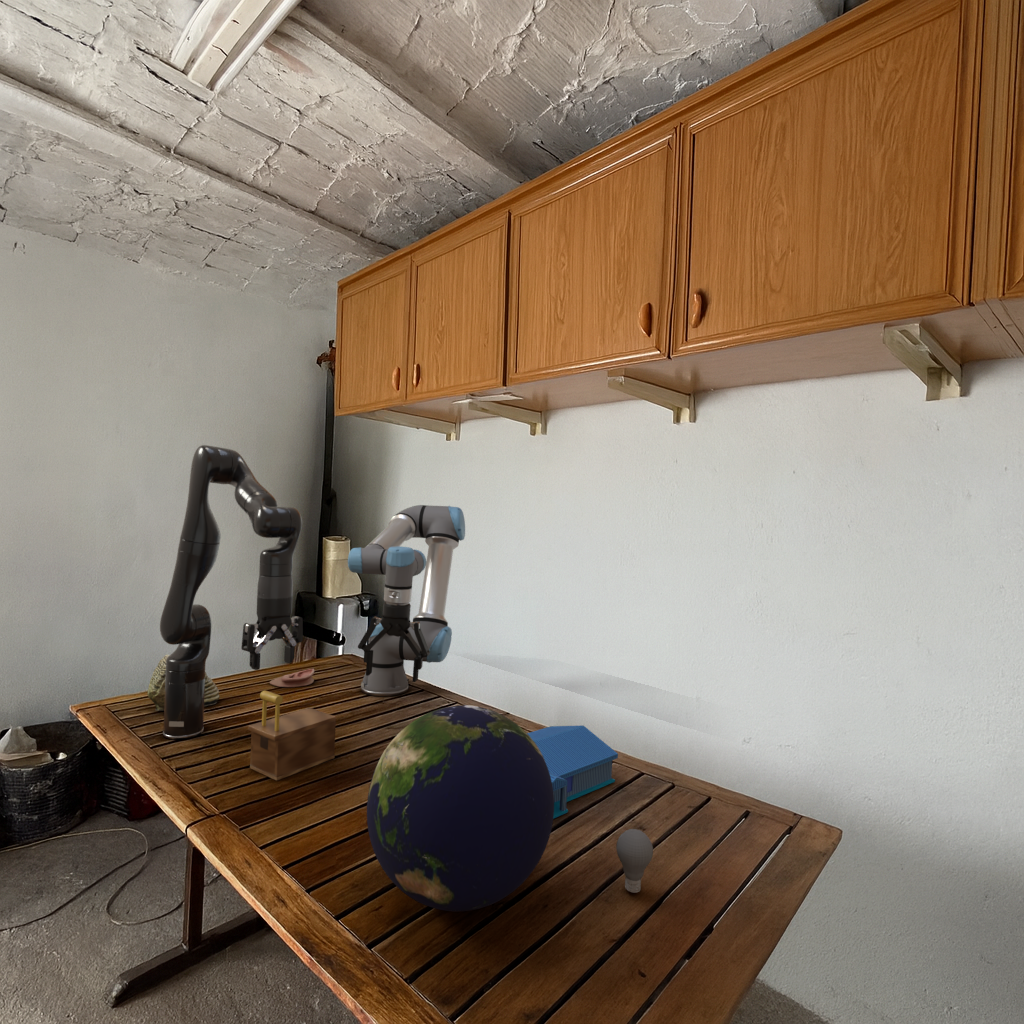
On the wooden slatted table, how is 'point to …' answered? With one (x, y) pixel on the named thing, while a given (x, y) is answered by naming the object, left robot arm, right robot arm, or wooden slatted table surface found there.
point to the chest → (292, 751)
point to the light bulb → (634, 857)
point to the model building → (574, 762)
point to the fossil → (158, 687)
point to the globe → (460, 808)
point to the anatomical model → (294, 679)
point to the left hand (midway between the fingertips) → (272, 665)
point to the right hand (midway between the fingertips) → (391, 677)
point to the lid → (287, 719)
